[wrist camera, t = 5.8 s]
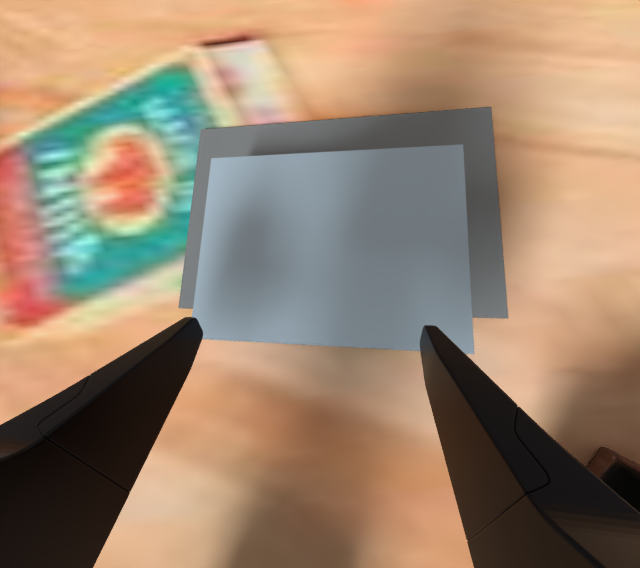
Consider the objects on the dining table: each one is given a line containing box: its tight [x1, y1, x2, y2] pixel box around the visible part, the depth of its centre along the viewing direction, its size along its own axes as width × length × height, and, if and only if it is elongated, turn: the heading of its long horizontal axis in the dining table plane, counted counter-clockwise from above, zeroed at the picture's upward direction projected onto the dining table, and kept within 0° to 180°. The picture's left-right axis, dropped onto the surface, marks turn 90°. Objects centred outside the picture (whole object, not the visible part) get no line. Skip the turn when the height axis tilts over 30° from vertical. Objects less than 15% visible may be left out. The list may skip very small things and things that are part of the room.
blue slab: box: [192, 144, 474, 354], centre depth 17 cm, size 4×16×12 cm
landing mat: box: [179, 107, 508, 318], centre depth 20 cm, size 16×24×1 cm, turn 88°
